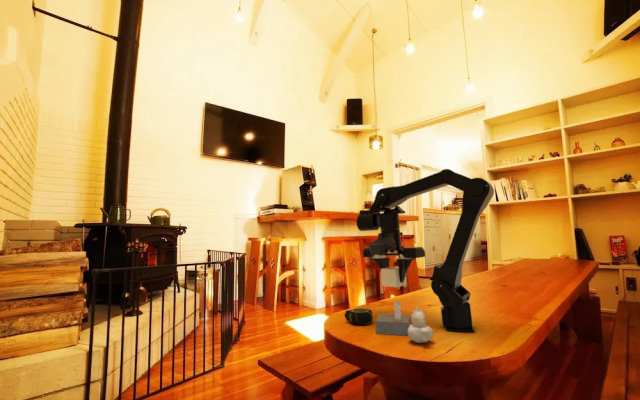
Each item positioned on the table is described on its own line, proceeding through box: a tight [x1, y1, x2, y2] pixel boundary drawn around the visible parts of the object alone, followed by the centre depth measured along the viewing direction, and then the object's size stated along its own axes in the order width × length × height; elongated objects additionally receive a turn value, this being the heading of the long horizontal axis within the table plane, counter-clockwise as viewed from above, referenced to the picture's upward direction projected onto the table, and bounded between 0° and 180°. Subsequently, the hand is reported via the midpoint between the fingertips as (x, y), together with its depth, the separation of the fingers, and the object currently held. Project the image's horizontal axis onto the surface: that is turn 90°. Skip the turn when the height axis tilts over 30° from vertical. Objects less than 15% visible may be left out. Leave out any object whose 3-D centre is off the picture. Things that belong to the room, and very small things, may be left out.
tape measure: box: [344, 307, 374, 326], centre depth 81 cm, size 7×7×4 cm
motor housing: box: [375, 301, 411, 337], centre depth 74 cm, size 8×8×7 cm
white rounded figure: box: [407, 305, 434, 344], centre depth 64 cm, size 5×7×8 cm
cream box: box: [380, 266, 408, 288], centre depth 85 cm, size 6×5×5 cm
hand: (394, 281), depth 84 cm, fingers closed on cream box, 5 cm apart
